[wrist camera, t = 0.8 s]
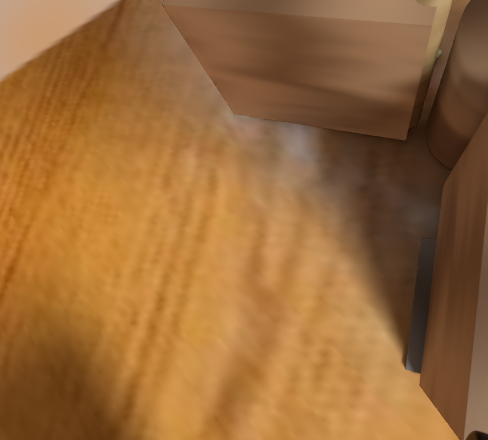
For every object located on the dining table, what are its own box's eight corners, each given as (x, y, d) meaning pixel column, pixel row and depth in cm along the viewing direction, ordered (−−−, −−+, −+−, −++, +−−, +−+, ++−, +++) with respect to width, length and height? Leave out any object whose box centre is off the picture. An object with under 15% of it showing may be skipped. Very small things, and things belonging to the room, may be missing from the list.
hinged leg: (424, 96, 21) (464, -47, 13) (414, 141, 21) (446, 26, 13) (245, 73, 24) (181, -55, 16) (234, 114, 24) (161, 4, 15)
